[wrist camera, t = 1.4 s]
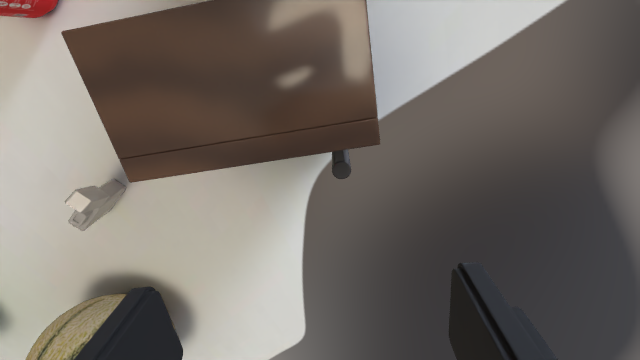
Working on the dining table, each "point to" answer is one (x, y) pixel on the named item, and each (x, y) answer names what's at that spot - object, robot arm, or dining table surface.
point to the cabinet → (230, 83)
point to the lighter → (93, 203)
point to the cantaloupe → (74, 329)
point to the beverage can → (26, 8)
